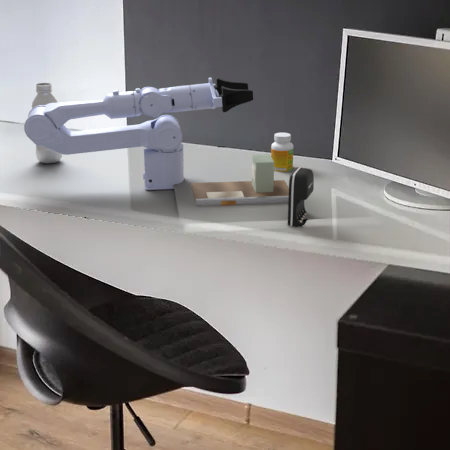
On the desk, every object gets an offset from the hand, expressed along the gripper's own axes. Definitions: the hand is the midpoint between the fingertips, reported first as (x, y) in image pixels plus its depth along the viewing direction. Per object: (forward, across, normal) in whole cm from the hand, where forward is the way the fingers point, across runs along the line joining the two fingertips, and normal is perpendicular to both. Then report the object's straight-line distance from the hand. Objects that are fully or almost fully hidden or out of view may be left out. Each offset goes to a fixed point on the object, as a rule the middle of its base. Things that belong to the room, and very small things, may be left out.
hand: (250, 91), depth 188 cm
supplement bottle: (+7, +6, +23) cm, 24 cm away
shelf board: (-5, -10, +21) cm, 24 cm away
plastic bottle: (-50, +20, +18) cm, 57 cm away
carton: (0, -8, +21) cm, 22 cm away
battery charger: (+5, -27, +22) cm, 35 cm away
